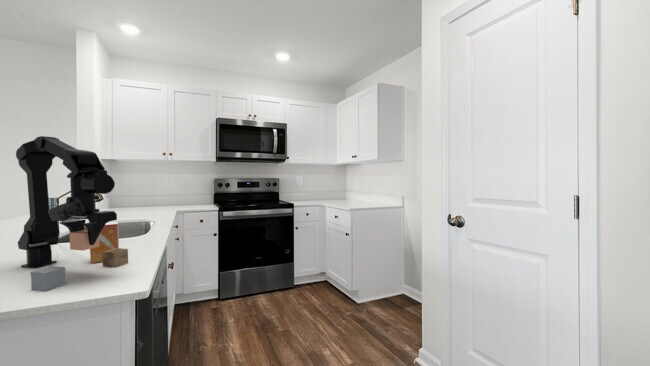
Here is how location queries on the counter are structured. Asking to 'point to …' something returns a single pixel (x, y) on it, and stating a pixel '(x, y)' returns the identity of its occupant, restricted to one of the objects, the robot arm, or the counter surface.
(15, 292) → the counter surface
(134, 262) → the counter surface
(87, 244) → the terracotta cube
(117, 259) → the walnut cube
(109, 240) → the small box
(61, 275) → the slate cube
